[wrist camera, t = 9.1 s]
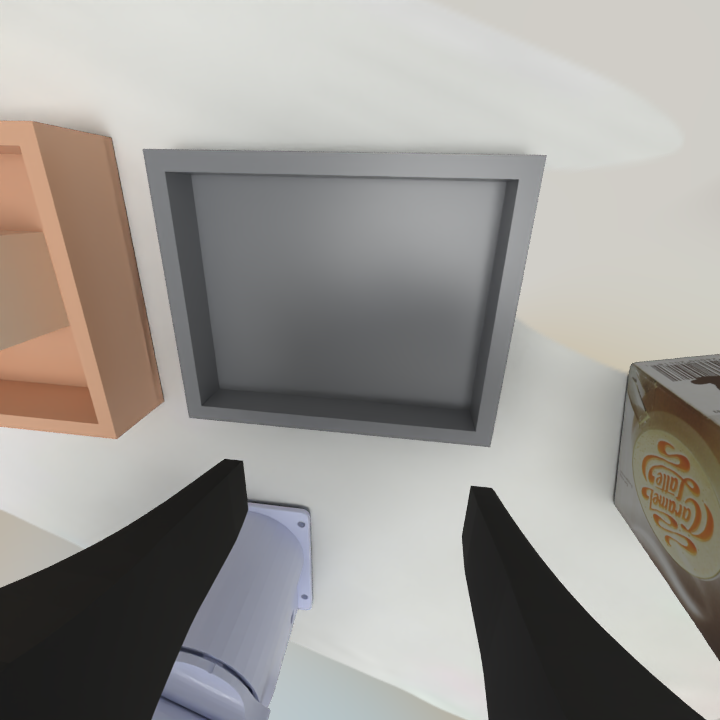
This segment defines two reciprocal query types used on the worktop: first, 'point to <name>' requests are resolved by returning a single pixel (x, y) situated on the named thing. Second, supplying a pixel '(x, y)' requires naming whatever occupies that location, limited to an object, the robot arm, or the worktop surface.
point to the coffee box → (676, 478)
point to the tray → (345, 285)
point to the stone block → (27, 289)
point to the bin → (76, 288)
